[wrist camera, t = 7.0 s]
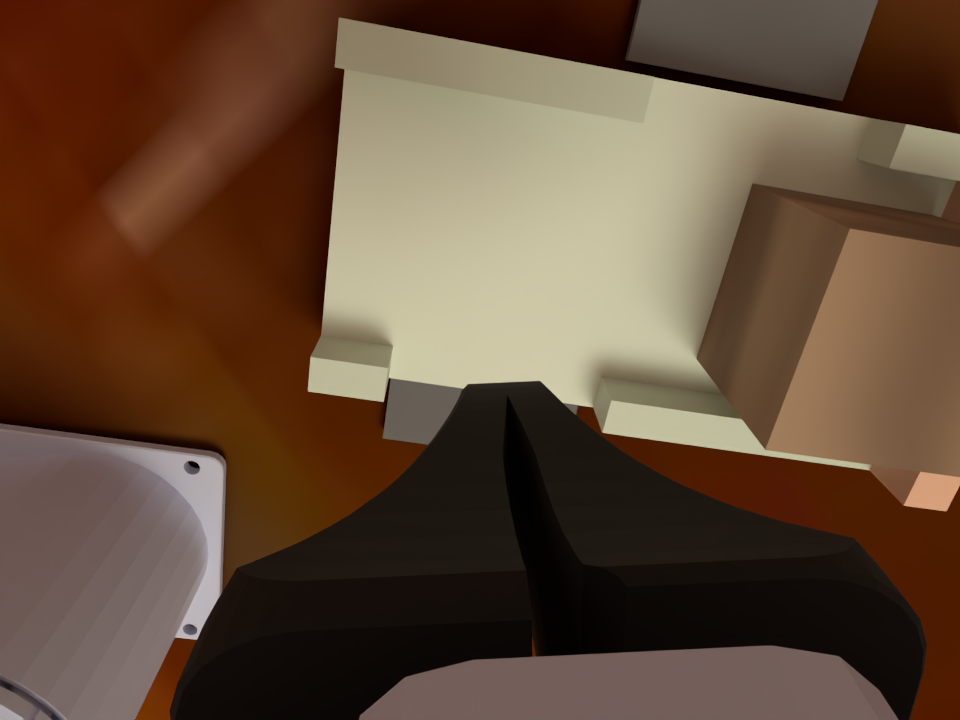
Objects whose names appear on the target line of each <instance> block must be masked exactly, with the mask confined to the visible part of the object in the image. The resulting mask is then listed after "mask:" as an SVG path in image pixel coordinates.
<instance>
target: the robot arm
mask: <svg viewBox="0 0 960 720" xmlns="http://www.w3.org/2000/svg"><path fill="white" fill-rule="evenodd" d="M188 461H194V462H196V463H197V464H198V465H199V466H200V468H194V467H192V466H191V465H190V464H189V463H188ZM225 489H226V462H225V460H224V458H223V457H222V456H221V455H219V454H218V453H216V452H212V451H206V450H199V449H191V448H183V447H176V446H168V445H161V444H153V443H145V442H138V441H130V440H122V439H115V438H107V437H100V436H92V435H84V434H77V433H69V432H61V431H54V430H46V429H38V428H31V427H23V426H16V425H8V424H0V720H135V718H136V716H137V714H138V712H139V710H140V708H141V706H142V704H143V702H144V700H145V698H146V695H147V693H148V691H149V689H150V687H151V685H152V683H153V681H154V679H155V677H156V675H157V673H158V671H159V669H160V667H161V665H162V663H163V661H164V658H165V656H166V654H167V652H168V650H169V648H170V646H171V644H172V642H173V640H174V638H175V637H177V638H187V639H196V640H197V641H196V643H195V645H194V648H193V650H192V652H191V654H190V657H189V659H188V661H187V663H186V666H185V668H184V670H183V672H182V675H181V677H180V679H179V681H178V684H177V687H176V691H175V694H174V698H173V701H172V705H171V709H170V718H171V720H910V716H911V713H912V709H913V706H914V702H915V699H916V696H917V692H918V689H919V685H920V682H921V678H922V675H923V672H924V663H925V655H926V646H927V644H926V640H925V636H924V633H923V629H922V625H921V621H920V618H919V617H918V616H917V614H916V613H915V612H914V610H913V609H912V608H911V606H910V605H909V604H908V602H907V601H906V600H905V598H904V597H903V596H902V594H901V593H900V592H899V591H898V589H897V588H896V587H895V585H894V584H893V583H892V582H891V580H890V579H889V578H888V576H887V575H886V574H885V573H884V571H883V570H882V569H881V568H880V567H879V565H878V564H877V563H876V562H875V561H874V560H873V559H872V557H871V556H870V555H869V554H868V553H867V552H866V551H865V549H864V548H863V547H862V546H861V545H860V544H859V543H858V542H857V541H856V540H855V539H854V538H850V537H846V536H842V535H837V534H833V533H829V532H825V531H820V530H816V529H812V528H807V527H803V526H799V525H795V524H790V523H786V522H782V521H779V520H775V519H772V518H769V517H766V516H762V515H759V514H756V513H753V512H750V511H747V510H744V509H741V508H737V507H735V506H732V505H729V504H727V503H724V502H721V501H719V500H716V499H713V498H711V497H709V496H706V495H704V494H702V493H699V492H697V491H695V490H693V489H690V488H688V487H686V486H683V485H681V484H679V483H677V482H675V481H673V480H671V479H669V478H667V477H665V476H663V475H661V474H659V473H658V472H656V471H654V470H652V469H651V468H649V467H647V466H645V465H644V464H642V463H640V462H638V461H637V460H635V459H633V458H632V457H630V456H629V455H627V454H625V453H624V452H622V451H621V450H620V449H618V448H617V447H615V446H614V445H613V444H611V443H610V442H609V441H607V440H606V439H604V438H603V437H602V436H600V435H599V434H598V433H597V432H595V431H594V430H593V429H591V428H590V427H589V426H588V425H587V424H585V423H584V422H583V421H582V420H581V419H580V418H578V417H577V416H576V415H575V414H574V413H573V412H572V411H571V410H570V409H569V408H568V407H567V406H566V405H564V404H563V403H562V402H561V401H560V400H559V399H558V398H557V397H556V396H555V395H554V394H553V393H552V392H551V391H550V390H549V389H548V388H547V387H546V386H545V385H544V384H543V383H542V382H541V381H525V382H503V383H480V384H468V385H467V386H466V387H465V388H464V389H463V390H462V391H461V394H460V396H459V399H458V401H457V403H456V404H455V406H454V408H453V410H452V411H451V413H450V415H449V416H448V418H447V419H446V421H445V422H444V424H443V425H442V427H441V428H440V430H439V431H438V433H437V434H436V435H435V437H434V438H433V439H432V441H431V442H430V443H429V444H428V446H427V447H426V448H425V449H424V450H423V452H422V453H421V454H420V455H419V456H418V458H417V459H416V460H415V461H414V462H413V463H412V464H411V466H410V467H409V468H408V469H407V470H406V471H405V472H404V473H403V474H402V475H401V476H400V477H399V478H398V479H397V480H396V481H394V482H393V483H392V484H391V485H390V486H389V487H388V488H386V489H385V490H384V491H382V492H381V493H380V494H378V495H377V496H375V497H374V498H373V499H371V500H370V501H368V502H367V503H366V504H364V505H363V506H362V507H360V508H359V509H357V510H356V511H355V512H353V513H352V514H350V515H349V516H347V517H345V518H344V519H342V520H340V521H338V522H337V523H335V524H333V525H332V526H330V527H328V528H326V529H324V530H323V531H321V532H319V533H317V534H315V535H313V536H311V537H309V538H307V539H305V540H303V541H301V542H299V543H297V544H295V545H293V546H290V547H288V548H285V549H283V550H281V551H278V552H276V553H273V554H271V555H269V556H266V557H264V558H261V559H259V560H257V561H254V562H252V563H249V564H246V565H244V566H241V567H238V568H237V569H236V570H235V572H234V574H233V575H232V577H231V579H230V581H229V583H228V584H227V586H226V587H225V589H224V591H223V592H222V579H223V549H224V519H225ZM188 624H192V625H194V626H195V627H192V626H190V625H188ZM532 637H533V641H534V647H535V653H536V657H532Z"/></svg>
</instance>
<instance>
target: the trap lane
mask: <svg viewBox="0 0 960 720" xmlns="http://www.w3.org/2000/svg"><path fill="white" fill-rule="evenodd" d="M335 68H341V69H345V71H344V83H343V94H342V105H341V117H340V128H339V139H338V151H337V162H336V173H335V185H334V196H333V207H332V219H331V230H330V241H329V253H328V264H327V275H326V287H325V298H324V309H323V321H322V332H321V337H320V339H319V341H318V343H317V345H316V347H315V349H314V351H313V353H312V355H311V359H310V371H309V383H308V391H309V392H316V393H323V394H330V395H337V396H345V397H352V398H359V399H366V400H373V401H380V402H384V398H385V393H386V389H387V384H388V380H389V378H393V379H400V380H407V381H414V382H421V383H428V384H435V385H442V386H449V387H456V388H463V389H464V388H465V387H466V386H467V385H468V384H480V383H503V382H525V381H541V382H542V383H543V384H544V385H545V386H546V387H547V388H548V389H549V390H550V391H551V392H552V393H553V394H554V395H555V396H556V397H557V398H558V399H559V400H560V401H561V402H562V403H567V404H574V405H581V406H588V407H593V408H594V411H595V414H596V416H597V419H598V422H599V425H600V427H601V430H602V433H608V434H616V435H623V436H630V437H637V438H644V439H651V440H658V441H665V442H673V443H680V444H687V445H694V446H701V447H708V448H715V449H723V450H730V451H737V452H744V453H751V454H758V455H765V456H772V457H780V458H787V459H794V460H801V461H808V462H815V463H822V464H829V465H837V466H844V467H851V468H858V469H865V470H870V471H871V472H872V473H873V474H874V475H875V476H876V477H877V478H878V480H879V481H880V482H881V483H882V484H883V485H884V486H885V487H886V488H887V489H888V490H889V491H890V492H891V493H892V494H893V495H894V496H895V497H896V498H897V499H898V500H899V501H900V502H901V503H902V504H903V505H904V506H911V507H918V508H925V509H933V510H940V511H947V509H948V507H949V505H950V503H951V501H952V499H953V497H954V495H955V493H956V492H957V490H958V488H959V486H960V477H954V476H947V475H940V474H933V473H926V472H919V471H912V470H904V469H897V468H890V467H883V466H876V465H869V464H862V463H854V462H847V461H840V460H833V459H826V458H819V457H812V456H804V455H797V454H790V453H783V452H776V451H769V450H765V449H764V448H763V446H762V445H761V444H760V442H759V441H758V440H757V438H756V437H755V436H754V435H753V433H752V432H751V431H750V429H749V428H748V427H747V425H746V424H745V423H744V421H743V420H742V419H741V417H740V416H739V415H738V413H737V412H736V411H735V409H734V408H733V407H732V405H731V404H730V403H729V401H728V400H727V399H726V397H725V396H724V395H723V394H722V392H721V391H720V390H719V388H718V387H717V386H716V384H715V383H714V382H713V380H712V379H711V378H710V376H709V375H708V374H707V372H706V371H705V370H704V368H703V367H702V366H701V364H700V363H699V362H698V360H697V355H698V352H699V349H700V346H701V343H702V340H703V337H704V334H705V330H706V327H707V324H708V321H709V318H710V315H711V312H712V308H713V305H714V302H715V299H716V296H717V293H718V290H719V286H720V283H721V280H722V277H723V274H724V271H725V268H726V265H727V261H728V258H729V255H730V252H731V249H732V246H733V243H734V239H735V236H736V233H737V230H738V227H739V224H740V221H741V217H742V214H743V211H744V208H745V205H746V202H747V199H748V196H749V192H750V189H751V186H752V183H754V184H759V185H765V186H771V187H777V188H782V189H788V190H794V191H799V192H805V193H811V194H817V195H822V196H828V197H834V198H839V199H845V200H851V201H856V202H862V203H868V204H874V205H879V206H885V207H891V208H896V209H902V210H908V211H914V212H919V213H925V214H931V215H935V216H937V217H940V218H943V219H946V220H949V221H951V222H954V223H957V224H960V134H956V133H950V132H945V131H940V130H935V129H929V128H924V127H919V126H913V125H908V124H902V123H896V122H891V121H885V120H879V119H873V118H868V117H862V116H857V115H852V114H846V113H841V112H836V111H830V110H825V109H820V108H814V107H809V106H804V105H799V104H793V103H788V102H783V101H777V100H772V99H767V98H761V97H756V96H751V95H745V94H740V93H735V92H729V91H724V90H719V89H713V88H708V87H703V86H698V85H692V84H687V83H682V82H676V81H671V80H666V79H660V78H655V77H653V76H648V75H642V74H637V73H632V72H626V71H621V70H616V69H610V68H605V67H600V66H594V65H589V64H584V63H578V62H573V61H568V60H563V59H557V58H552V57H547V56H541V55H536V54H531V53H525V52H520V51H515V50H509V49H504V48H499V47H493V46H488V45H483V44H478V43H472V42H467V41H462V40H456V39H451V38H446V37H440V36H435V35H430V34H424V33H419V32H414V31H408V30H403V29H398V28H392V27H387V26H382V25H377V24H371V23H366V22H361V21H355V20H350V19H345V18H339V21H338V33H337V46H336V58H335Z"/></svg>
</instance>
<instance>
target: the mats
mask: <svg viewBox="0 0 960 720" xmlns="http://www.w3.org/2000/svg"><path fill="white" fill-rule="evenodd" d="M877 2H878V0H639V2H638V6H637V10H636V15H635V19H634V23H633V28H632V32H631V36H630V40H629V45H628V49H627V53H626V58H625V60H628V61H633V62H638V63H643V64H649V65H654V66H659V67H665V68H670V69H675V70H680V71H686V72H691V73H696V74H701V75H707V76H712V77H717V78H723V79H728V80H733V81H738V82H744V83H749V84H754V85H759V86H765V87H770V88H775V89H781V90H786V91H791V92H796V93H802V94H807V95H812V96H817V97H823V98H828V99H833V100H839V101H843V98H844V96H845V93H846V90H847V87H848V84H849V81H850V79H851V76H852V73H853V70H854V67H855V64H856V62H857V59H858V56H859V53H860V50H861V47H862V45H863V42H864V39H865V36H866V33H867V31H868V28H869V25H870V22H871V19H872V16H873V14H874V11H875V8H876V5H877ZM462 390H463V388H456V387H449V386H442V385H435V384H428V383H421V382H414V381H407V380H400V379H393V378H391V381H390V388H389V396H388V403H387V411H386V418H385V426H384V433H383V438H384V439H391V440H399V441H406V442H413V443H421V444H429V443H430V442H431V441H432V439H433V438H434V437H435V435H436V434H437V433H438V431H439V430H440V428H441V427H442V425H443V424H444V422H445V421H446V419H447V418H448V416H449V415H450V413H451V411H452V410H453V408H454V406H455V404H456V403H457V401H458V399H459V396H460V394H461V391H462ZM563 404H564V405H566V406H567V407H568V408H569V409H570V410H571V411H572V412H573V413H574V414H575V415H576V411H577V407H578V405H574V404H567V403H563Z"/></svg>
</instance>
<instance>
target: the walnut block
mask: <svg viewBox="0 0 960 720" xmlns="http://www.w3.org/2000/svg"><path fill="white" fill-rule="evenodd" d="M697 360H698V362H699V363H700V364H701V366H702V367H703V368H704V370H705V371H706V372H707V374H708V375H709V376H710V378H711V379H712V380H713V382H714V383H715V384H716V386H717V387H718V388H719V390H720V391H721V392H722V394H723V395H724V396H725V397H726V399H727V400H728V401H729V403H730V404H731V405H732V407H733V408H734V409H735V411H736V412H737V413H738V415H739V416H740V417H741V419H742V420H743V421H744V423H745V424H746V425H747V427H748V428H749V429H750V431H751V432H752V433H753V435H754V436H755V437H756V438H757V440H758V441H759V442H760V444H761V445H762V446H763V448H764V449H765V450H769V451H776V452H783V453H790V454H797V455H804V456H812V457H819V458H826V459H833V460H840V461H847V462H854V463H862V464H869V465H876V466H883V467H890V468H897V469H904V470H912V471H919V472H926V473H933V474H940V475H947V476H954V477H960V224H957V223H954V222H951V221H949V220H946V219H943V218H940V217H937V216H935V215H931V214H925V213H919V212H914V211H908V210H902V209H896V208H891V207H885V206H879V205H874V204H868V203H862V202H856V201H851V200H845V199H839V198H834V197H828V196H822V195H817V194H811V193H805V192H799V191H794V190H788V189H782V188H777V187H771V186H765V185H759V184H754V183H752V186H751V189H750V192H749V196H748V199H747V202H746V205H745V208H744V211H743V214H742V217H741V221H740V224H739V227H738V230H737V233H736V236H735V239H734V243H733V246H732V249H731V252H730V255H729V258H728V261H727V265H726V268H725V271H724V274H723V277H722V280H721V283H720V286H719V290H718V293H717V296H716V299H715V302H714V305H713V308H712V312H711V315H710V318H709V321H708V324H707V327H706V330H705V334H704V337H703V340H702V343H701V346H700V349H699V352H698V355H697Z"/></svg>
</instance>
